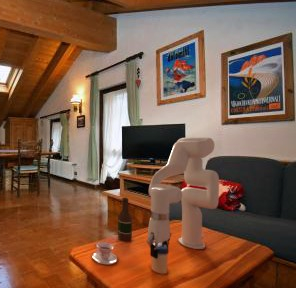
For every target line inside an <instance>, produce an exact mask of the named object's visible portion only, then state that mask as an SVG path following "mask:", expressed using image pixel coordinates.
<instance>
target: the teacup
mask: <svg viewBox="0 0 296 288" xmlns="http://www.w3.org/2000/svg"><path fill="white" fill-rule="evenodd" d="M114 248H115V246H114V244H112V243H111V242H107V241H99V242H97V243H96V244H94V249H95V250H96V251H95V252H94V253H92V257H91V258H92V260H93V261H94V262H96V263H97V264H101V265H108V266H109V265H114V264H116V263H117V261H118V256H117V255H116V254H114V253H113V252H112V251H113V249H114Z"/></svg>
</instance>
